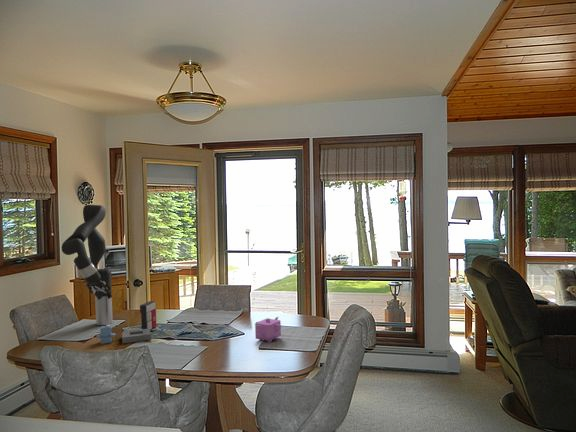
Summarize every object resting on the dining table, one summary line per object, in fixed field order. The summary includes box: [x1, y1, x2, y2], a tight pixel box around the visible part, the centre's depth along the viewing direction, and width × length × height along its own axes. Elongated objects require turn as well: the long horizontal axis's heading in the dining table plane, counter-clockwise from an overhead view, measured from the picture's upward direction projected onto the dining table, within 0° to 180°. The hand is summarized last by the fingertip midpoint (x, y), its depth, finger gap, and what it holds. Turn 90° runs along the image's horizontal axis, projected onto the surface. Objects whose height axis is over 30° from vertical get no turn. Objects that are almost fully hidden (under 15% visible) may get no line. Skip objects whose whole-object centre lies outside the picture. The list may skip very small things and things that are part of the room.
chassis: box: [121, 328, 152, 344], centre depth 238 cm, size 12×14×3 cm
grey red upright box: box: [139, 300, 157, 330], centre depth 255 cm, size 11×4×15 cm, turn 168°
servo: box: [95, 324, 116, 345], centre depth 233 cm, size 4×9×9 cm, turn 109°
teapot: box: [254, 316, 282, 343], centre depth 230 cm, size 15×13×11 cm
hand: (105, 298), depth 238 cm, fingers open, 8 cm apart
